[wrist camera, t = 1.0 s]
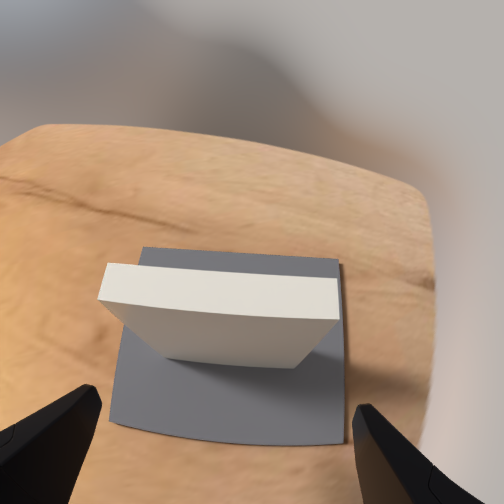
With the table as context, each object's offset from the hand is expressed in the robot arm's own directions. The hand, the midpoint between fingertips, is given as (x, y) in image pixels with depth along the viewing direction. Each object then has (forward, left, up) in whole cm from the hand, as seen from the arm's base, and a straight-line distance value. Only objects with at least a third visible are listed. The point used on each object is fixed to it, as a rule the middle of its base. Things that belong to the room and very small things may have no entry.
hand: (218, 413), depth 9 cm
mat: (+6, +1, -14) cm, 15 cm away
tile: (+5, +1, -13) cm, 14 cm away
